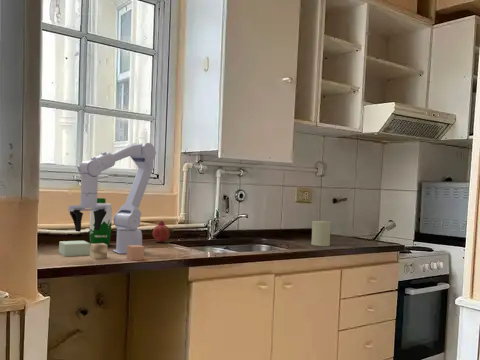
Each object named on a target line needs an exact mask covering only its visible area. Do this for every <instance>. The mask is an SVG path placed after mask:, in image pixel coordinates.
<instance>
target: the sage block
mask: <svg viewBox="0 0 480 360" xmlns="http://www.w3.org/2000/svg"><path fill="white" fill-rule="evenodd" d="M58 244H59V245H58V253H59V254H60V255H62V256H64V257H71V256H73V257H74V256H77V257H78V256H90V242H88V241H86V240H67V241H66V240H63V241H59V242H58Z"/></svg>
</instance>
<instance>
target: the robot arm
mask: <svg viewBox="0 0 480 360" xmlns="http://www.w3.org/2000/svg"><path fill="white" fill-rule="evenodd" d="M156 154H157V151H156V150H155V146H154V145H153V144H152V143H150V142H146V143H143V142H142V143H135V142H134V143H130V144H127V145H126V146H124V147H122V148H120V149H118V150H115V151H114V152H112V153H110V152H108V151H107V152H106V151H102V152H101V154H100V155H97V156H92V157H91V158H90V160H89V159H88V160H83V161H82V162H80V165H79V166H78V167H77V170H78V173H79V175H80V179H81V181H80V202H79V203H80V204H77V205H68V212H69V215H70V216H71V217H70V218H71V219H72V221H73V224H74V228H75V232H78V233H80V232H81V230H82V220H83V215H84V213H83V212H84V211H86V212H90V211H93V212H94V218H95V230H100V226H101V223H102V220H103V218H104V217H105V215H106V212H107V211H105V210H107V206H108V205H97V198H98V188H99V186H98V184H99V176H101V174H102V172H104V171H106V170H108V169H110V168H112V167H114V166H116V162H118V161H121V160H123V159H126V158H129V157H130V158H131V160H132V161H133V162H134V164H135V165H136V166H137V170H136V173H135V178H134V179H133V182H132V184H131V187H130V190H129V192H128V195H127V198H126V200H125V203H124V204H123V205H121V206H120V207H119V208H118V211H117V212H116V213H115V214H114V216H113V217H112V219H113V220H112V221H113V225H114V226H115V229H116V243H115V245H116V246H115V247H116V248H115V249H112V252H115V253H116V254H127V245H141V246H143V233H142V232H143V231H142V230H141V229H138V228H139V226H140V224H141V217H142V211H141V209H139V207H140V205H141V202H142V199H143V197H144V195H145V191H146V189H147V186H148V183H149V180H150V179H151V178H150V177H151V175H152V172H153V170H154V160H155V156H156ZM90 208H93V209H90ZM94 210H97V211H94Z"/></svg>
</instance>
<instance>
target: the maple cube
mask: <svg viewBox="0 0 480 360" xmlns="http://www.w3.org/2000/svg"><path fill="white" fill-rule="evenodd" d="M89 257H90V258H92V259H95V260H96V258H97V259H107V258H108V246H107V245H106V244H104V243H95V244H90V255H89Z"/></svg>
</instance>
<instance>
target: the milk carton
mask: <svg viewBox="0 0 480 360" xmlns="http://www.w3.org/2000/svg"><path fill="white" fill-rule="evenodd" d="M106 200H107V199H106V198H104V197H102V198H101V197H97V205H108V206H107V210H105V211H107V212H106V215H105V217H104V218H103V220H102V223H101V226H100V230H95V218H94V212H93V211H89V226H88V228H89V233H88V234H89V243H90V244H95V243H104V244H106V245H107V247H110V243H111V236H112V221H113V220H112V219H113V215H112V214H113V207H112V206H113V205H112V203H110V202H106ZM89 209H93V208H89ZM94 211H97V210H94Z"/></svg>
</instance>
